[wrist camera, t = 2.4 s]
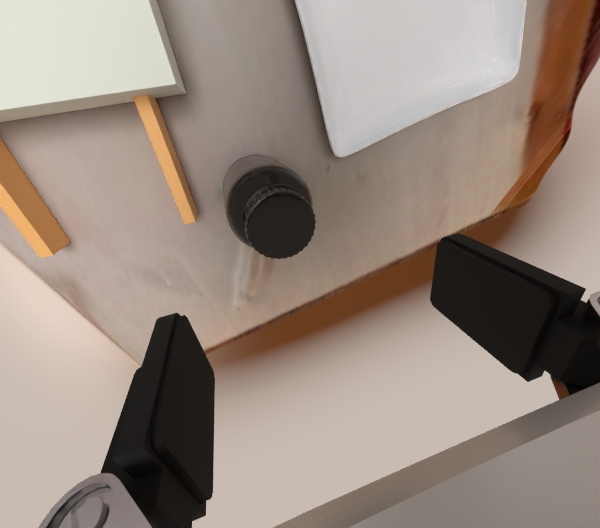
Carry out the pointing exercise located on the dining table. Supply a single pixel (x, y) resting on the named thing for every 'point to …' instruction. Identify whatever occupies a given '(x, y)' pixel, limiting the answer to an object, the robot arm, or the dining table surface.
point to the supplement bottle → (268, 206)
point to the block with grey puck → (82, 88)
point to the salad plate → (405, 60)
